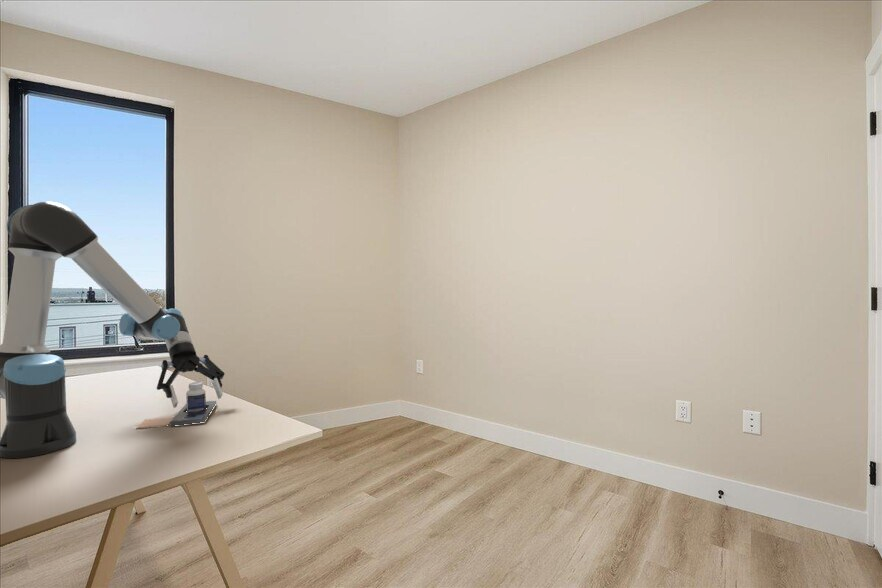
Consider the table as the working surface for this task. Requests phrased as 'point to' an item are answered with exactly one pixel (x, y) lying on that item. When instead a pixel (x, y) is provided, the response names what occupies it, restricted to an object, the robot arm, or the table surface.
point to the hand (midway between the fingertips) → (199, 400)
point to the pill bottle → (196, 397)
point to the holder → (192, 415)
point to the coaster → (155, 422)
